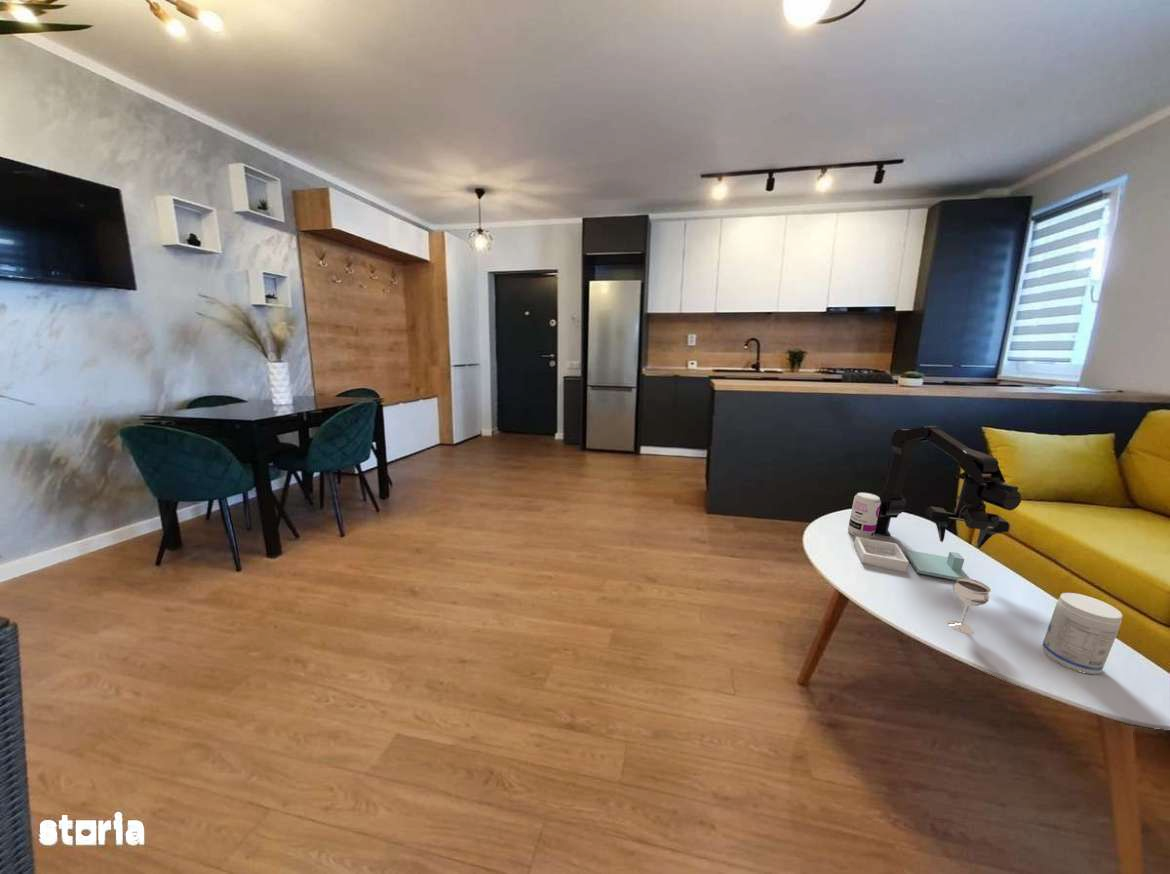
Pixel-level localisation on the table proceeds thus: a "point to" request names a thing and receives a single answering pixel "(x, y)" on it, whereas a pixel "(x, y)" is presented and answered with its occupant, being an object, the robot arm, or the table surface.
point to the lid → (938, 564)
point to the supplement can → (864, 515)
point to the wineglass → (969, 599)
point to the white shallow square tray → (880, 554)
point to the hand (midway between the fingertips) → (959, 544)
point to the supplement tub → (1081, 632)
